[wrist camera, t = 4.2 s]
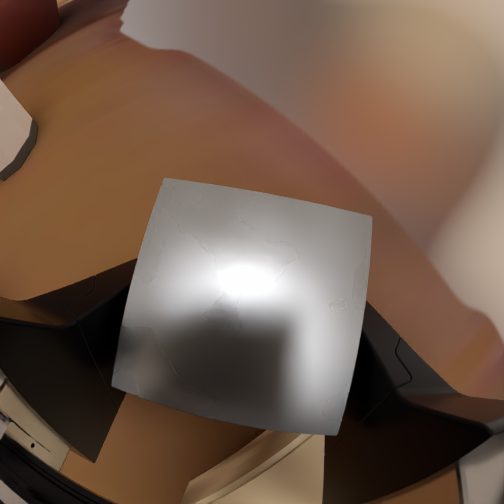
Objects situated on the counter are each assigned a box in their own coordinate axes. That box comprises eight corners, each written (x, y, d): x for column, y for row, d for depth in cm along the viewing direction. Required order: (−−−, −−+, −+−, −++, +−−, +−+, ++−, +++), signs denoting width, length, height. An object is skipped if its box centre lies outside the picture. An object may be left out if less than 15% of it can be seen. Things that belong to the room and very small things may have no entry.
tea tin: (284, 369, 14) (336, 435, 5) (196, 351, 15) (111, 386, 5) (301, 283, 16) (372, 216, 6) (215, 266, 16) (164, 178, 6)
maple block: (301, 550, 11) (308, 580, 7) (189, 481, 13) (175, 513, 9) (419, 462, 13) (447, 481, 9) (328, 375, 15) (351, 390, 11)
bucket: (37, 57, 27) (-8, -28, 3) (-23, 98, 26) (-69, 39, 2) (83, 6, 33) (58, -61, 9) (21, 40, 33) (-8, -14, 9)
